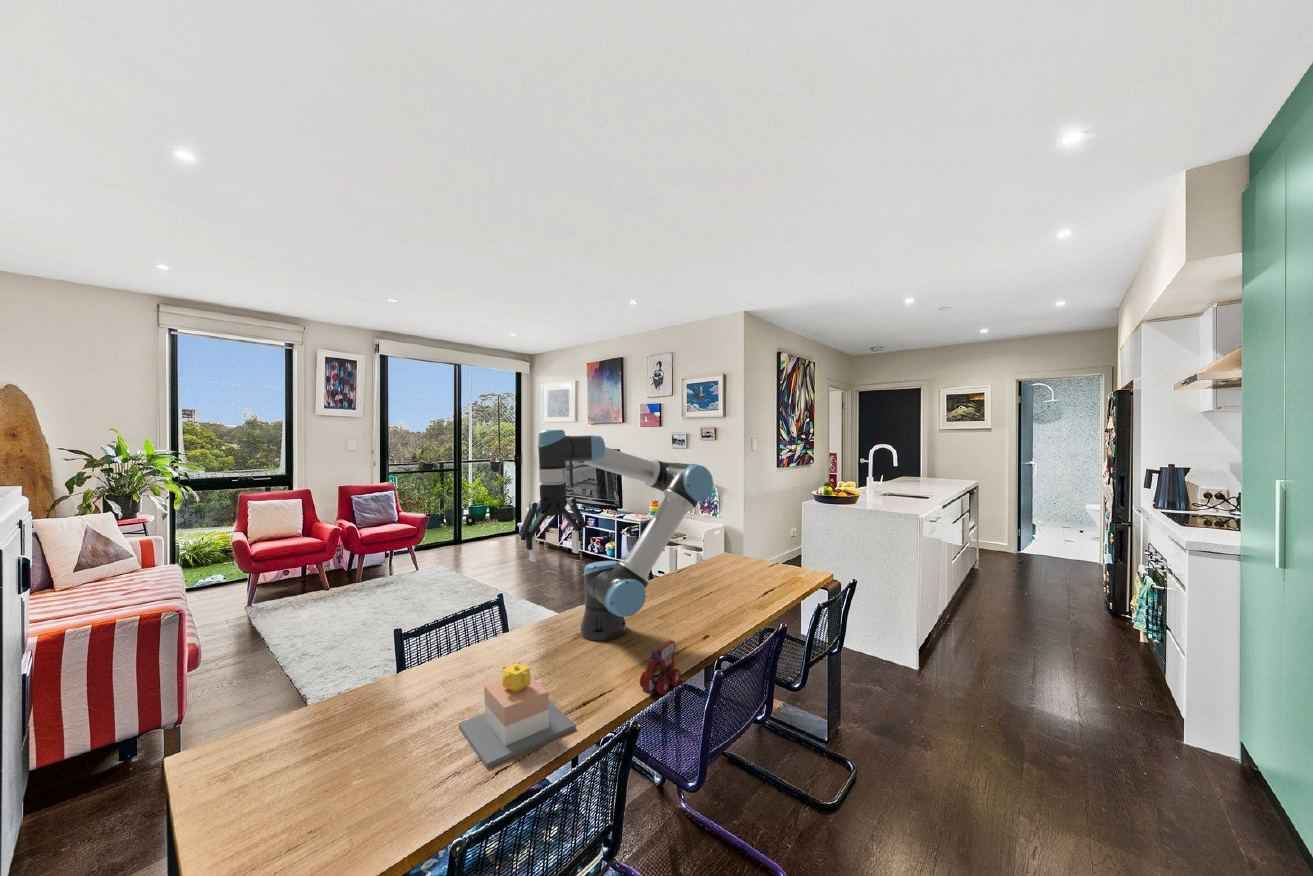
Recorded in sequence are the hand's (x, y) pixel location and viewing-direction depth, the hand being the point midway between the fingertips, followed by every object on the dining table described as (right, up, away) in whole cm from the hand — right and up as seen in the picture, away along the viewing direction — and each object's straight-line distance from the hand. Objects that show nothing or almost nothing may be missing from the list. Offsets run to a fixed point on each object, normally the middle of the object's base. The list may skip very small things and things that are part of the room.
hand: (554, 556), depth 143 cm
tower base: (-2, -31, -31) cm, 44 cm away
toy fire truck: (+30, -31, -14) cm, 45 cm away
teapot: (-3, -22, -32) cm, 39 cm away
